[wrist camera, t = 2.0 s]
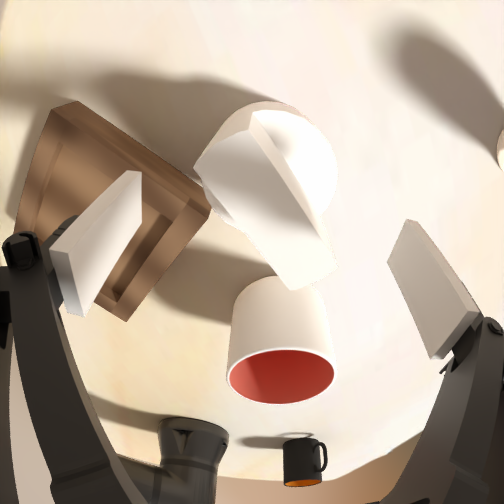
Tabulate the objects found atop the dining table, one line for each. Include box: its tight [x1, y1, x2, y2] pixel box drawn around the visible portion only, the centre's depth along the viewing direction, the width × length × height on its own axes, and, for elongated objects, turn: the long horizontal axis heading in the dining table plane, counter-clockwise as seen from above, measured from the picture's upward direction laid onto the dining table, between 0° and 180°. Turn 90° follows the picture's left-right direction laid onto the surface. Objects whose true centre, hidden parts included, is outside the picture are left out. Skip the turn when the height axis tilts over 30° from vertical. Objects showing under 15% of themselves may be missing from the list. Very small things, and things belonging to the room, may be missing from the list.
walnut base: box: [13, 101, 212, 322], centre depth 26 cm, size 16×16×4 cm
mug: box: [283, 438, 328, 487], centre depth 54 cm, size 8×12×10 cm
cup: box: [226, 276, 337, 405], centre depth 30 cm, size 10×10×10 cm
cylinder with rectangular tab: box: [193, 101, 338, 290], centre depth 19 cm, size 9×9×12 cm
